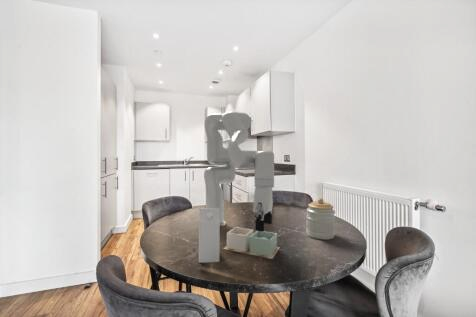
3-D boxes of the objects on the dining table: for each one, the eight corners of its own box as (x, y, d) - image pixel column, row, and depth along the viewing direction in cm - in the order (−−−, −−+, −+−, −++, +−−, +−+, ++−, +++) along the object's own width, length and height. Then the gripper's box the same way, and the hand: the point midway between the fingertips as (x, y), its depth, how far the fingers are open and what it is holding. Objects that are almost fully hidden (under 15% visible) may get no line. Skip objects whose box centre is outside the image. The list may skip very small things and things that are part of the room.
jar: (301, 235, 108) (301, 198, 107) (313, 228, 117) (313, 195, 117) (328, 242, 99) (329, 202, 99) (339, 234, 108) (339, 198, 108)
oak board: (223, 251, 89) (223, 248, 89) (235, 242, 99) (235, 239, 99) (272, 262, 81) (272, 258, 80) (280, 250, 90) (280, 247, 90)
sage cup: (250, 252, 86) (250, 236, 86) (257, 244, 93) (257, 230, 93) (270, 256, 82) (271, 240, 82) (276, 248, 90) (277, 233, 89)
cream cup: (226, 247, 90) (226, 232, 90) (235, 240, 97) (235, 226, 97) (245, 251, 86) (245, 236, 86) (253, 243, 94) (253, 229, 94)
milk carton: (200, 256, 85) (200, 206, 84) (219, 256, 85) (219, 205, 85) (198, 266, 78) (198, 210, 77) (219, 265, 78) (219, 210, 78)
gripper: (262, 180, 97) (262, 220, 97) (246, 185, 81) (246, 232, 81) (279, 181, 93) (279, 222, 94) (266, 186, 78) (266, 235, 78)
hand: (263, 227), depth 87 cm, fingers open, 9 cm apart
